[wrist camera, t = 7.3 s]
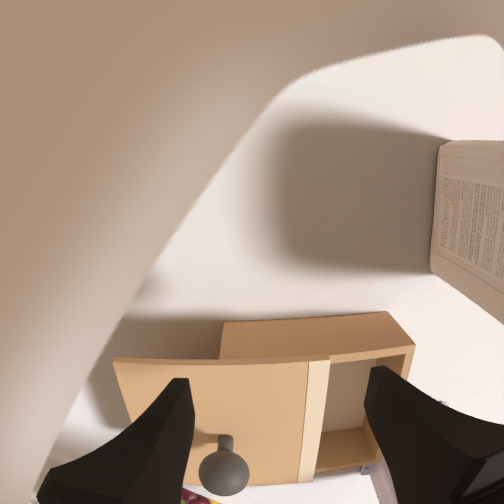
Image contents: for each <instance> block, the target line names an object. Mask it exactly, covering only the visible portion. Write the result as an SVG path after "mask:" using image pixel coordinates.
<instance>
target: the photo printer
mask: <svg viewBox="0 0 504 504" xmlns="http://www.w3.org/2000/svg"><path fill="white" fill-rule="evenodd" d="M430 269H431V271H432V272H433V273H434V274H435V275H436V276H438V277H439V278H441V279H442V280H444V281H445V282H447V283H448V284H450V285H451V286H452V287H454V288H455V289H456V290H458V291H459V292H461V293H462V294H463V295H465V296H466V297H468V298H469V299H470V300H472V301H473V302H474V303H476V304H477V305H478V306H480V307H481V308H482V309H484V310H485V311H486V312H488V313H489V314H490V315H492V316H493V317H494V318H496V319H497V320H498V321H499V322H501V323H502V324H503V325H504V141H488V140H459V141H450V142H447V143H446V144H444V145H441V146H440V148H439V153H438V160H437V175H436V192H435V205H434V218H433V229H432V238H431V250H430Z"/></svg>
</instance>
